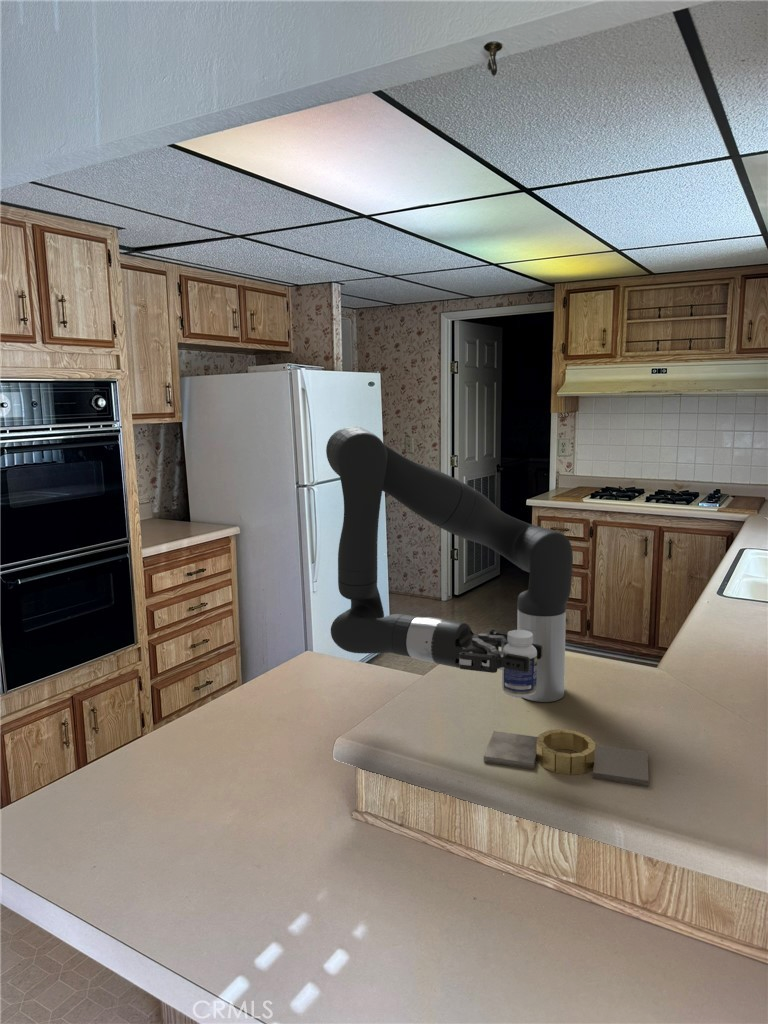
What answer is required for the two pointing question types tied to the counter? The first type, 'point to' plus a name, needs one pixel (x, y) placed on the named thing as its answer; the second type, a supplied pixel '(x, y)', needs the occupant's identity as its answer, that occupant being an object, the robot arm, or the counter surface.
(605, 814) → the counter surface
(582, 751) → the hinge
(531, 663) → the pill bottle
